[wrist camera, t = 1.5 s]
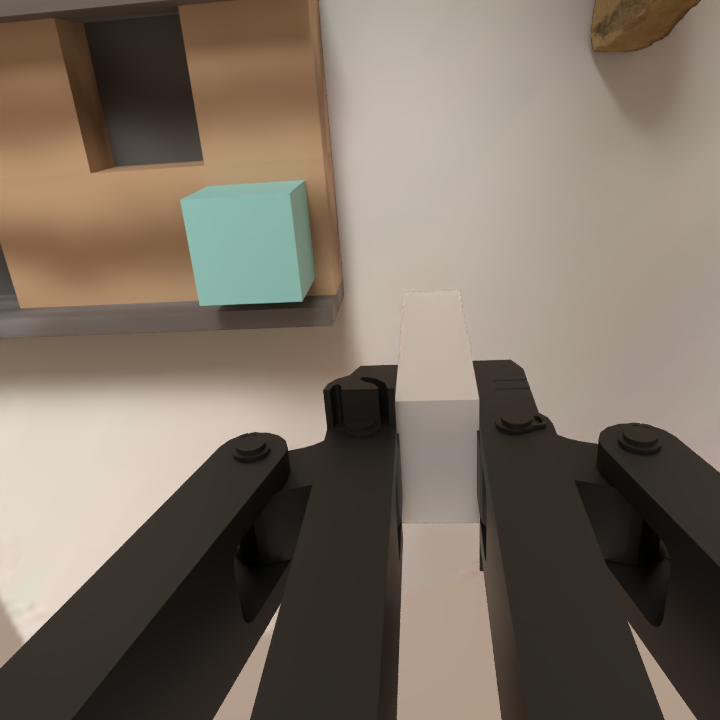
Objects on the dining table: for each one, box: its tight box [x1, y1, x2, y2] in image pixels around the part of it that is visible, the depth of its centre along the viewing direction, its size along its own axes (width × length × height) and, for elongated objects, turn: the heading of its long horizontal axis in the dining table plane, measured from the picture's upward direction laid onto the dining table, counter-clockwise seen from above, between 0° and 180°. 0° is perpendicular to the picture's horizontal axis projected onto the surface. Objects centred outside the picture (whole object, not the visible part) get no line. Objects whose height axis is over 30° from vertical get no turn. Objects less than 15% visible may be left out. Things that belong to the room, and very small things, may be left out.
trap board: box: [0, 0, 344, 338], centre depth 33 cm, size 16×28×5 cm, turn 94°
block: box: [180, 180, 315, 306], centre depth 31 cm, size 5×5×4 cm
